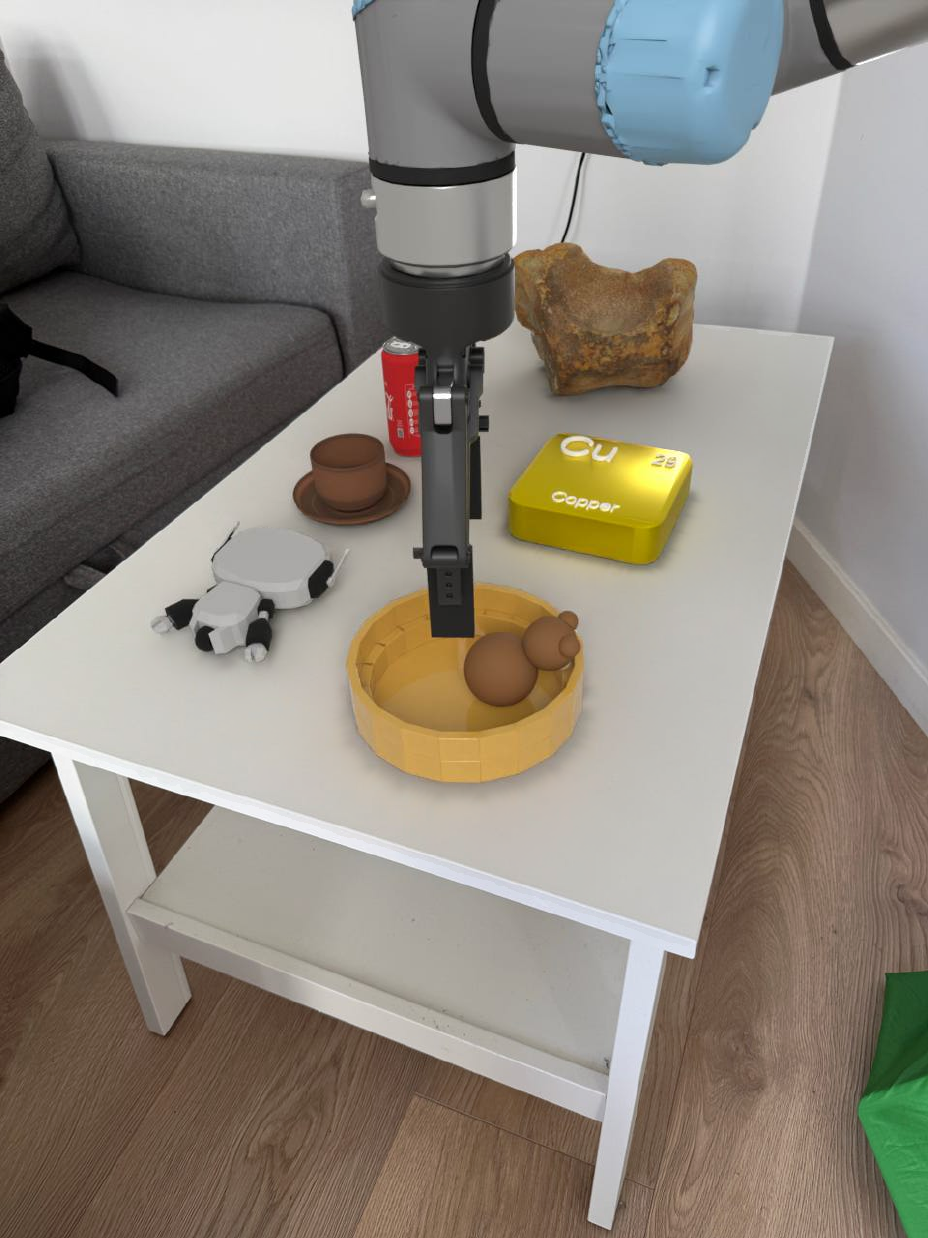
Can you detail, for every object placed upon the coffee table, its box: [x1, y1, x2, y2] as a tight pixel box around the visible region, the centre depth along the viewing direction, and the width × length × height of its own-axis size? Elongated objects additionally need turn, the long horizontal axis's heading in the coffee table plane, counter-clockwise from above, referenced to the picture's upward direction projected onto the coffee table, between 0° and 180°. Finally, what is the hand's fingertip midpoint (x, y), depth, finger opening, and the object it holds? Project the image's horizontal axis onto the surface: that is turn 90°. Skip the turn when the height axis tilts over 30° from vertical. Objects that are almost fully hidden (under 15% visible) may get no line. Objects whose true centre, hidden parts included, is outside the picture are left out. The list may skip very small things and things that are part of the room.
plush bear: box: [464, 610, 580, 707], centre depth 68 cm, size 6×6×10 cm
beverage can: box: [380, 337, 421, 458], centre depth 99 cm, size 5×5×12 cm
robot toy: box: [150, 520, 351, 663], centre depth 79 cm, size 12×4×15 cm
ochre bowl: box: [345, 582, 585, 784], centre depth 69 cm, size 17×17×5 cm
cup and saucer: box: [292, 432, 412, 526], centre depth 92 cm, size 12×12×6 cm
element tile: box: [507, 432, 694, 565], centre depth 89 cm, size 15×15×5 cm
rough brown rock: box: [512, 241, 698, 397], centre depth 110 cm, size 23×17×15 cm
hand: (458, 571), depth 63 cm, fingers open, 13 cm apart
